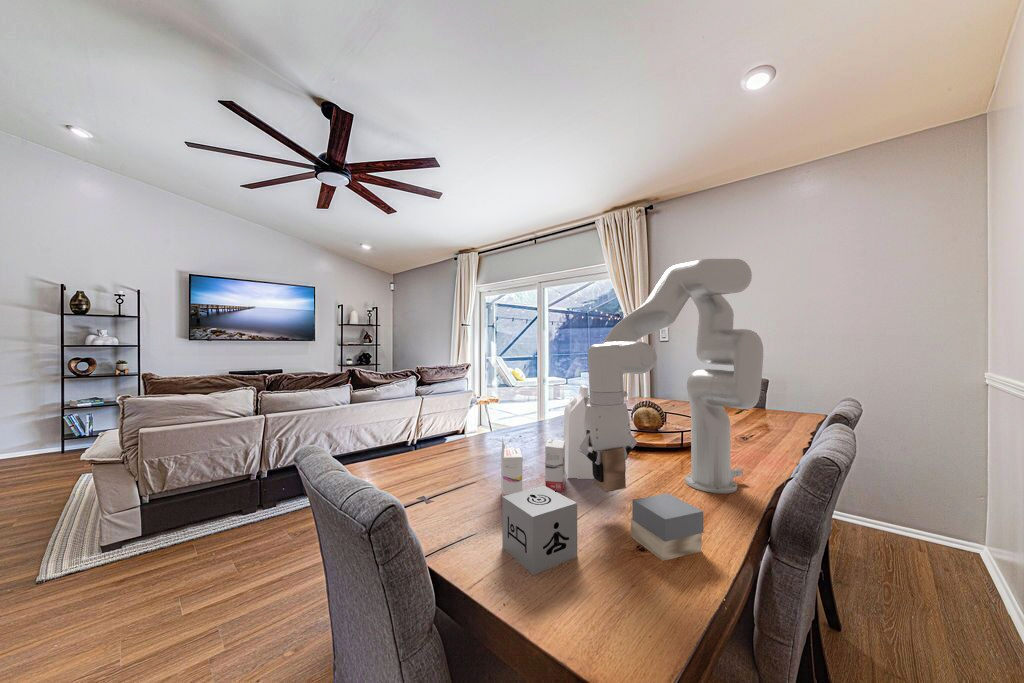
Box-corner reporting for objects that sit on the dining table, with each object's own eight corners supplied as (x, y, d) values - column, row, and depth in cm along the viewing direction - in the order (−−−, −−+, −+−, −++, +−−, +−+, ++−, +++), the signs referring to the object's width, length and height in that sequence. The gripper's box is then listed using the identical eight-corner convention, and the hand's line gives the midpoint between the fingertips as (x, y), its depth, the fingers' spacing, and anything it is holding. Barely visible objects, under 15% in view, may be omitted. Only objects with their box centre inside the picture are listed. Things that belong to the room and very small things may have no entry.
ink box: (563, 493, 98) (563, 447, 98) (544, 491, 99) (544, 446, 99) (565, 480, 106) (565, 439, 107) (548, 479, 107) (548, 438, 107)
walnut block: (612, 480, 89) (611, 442, 88) (625, 488, 84) (624, 448, 84) (594, 483, 87) (592, 445, 87) (606, 492, 82) (605, 451, 82)
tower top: (667, 512, 79) (667, 493, 79) (703, 532, 70) (703, 511, 70) (632, 519, 75) (632, 499, 75) (665, 541, 67) (665, 519, 67)
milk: (608, 479, 108) (607, 388, 108) (567, 479, 108) (567, 388, 108) (598, 465, 120) (598, 384, 120) (562, 465, 120) (562, 384, 120)
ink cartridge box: (523, 506, 90) (523, 444, 90) (502, 506, 90) (502, 445, 90) (519, 491, 99) (519, 435, 99) (500, 492, 98) (500, 436, 98)
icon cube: (502, 548, 72) (502, 496, 72) (544, 534, 77) (543, 485, 77) (533, 576, 63) (532, 516, 63) (577, 557, 69) (577, 502, 69)
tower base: (667, 531, 79) (667, 512, 79) (701, 554, 70) (701, 533, 70) (630, 538, 76) (630, 518, 76) (662, 563, 67) (662, 541, 67)
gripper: (628, 392, 91) (630, 466, 92) (565, 399, 86) (568, 478, 86) (648, 397, 84) (651, 477, 85) (581, 404, 79) (584, 490, 79)
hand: (609, 477), depth 85 cm, fingers closed on walnut block, 5 cm apart
